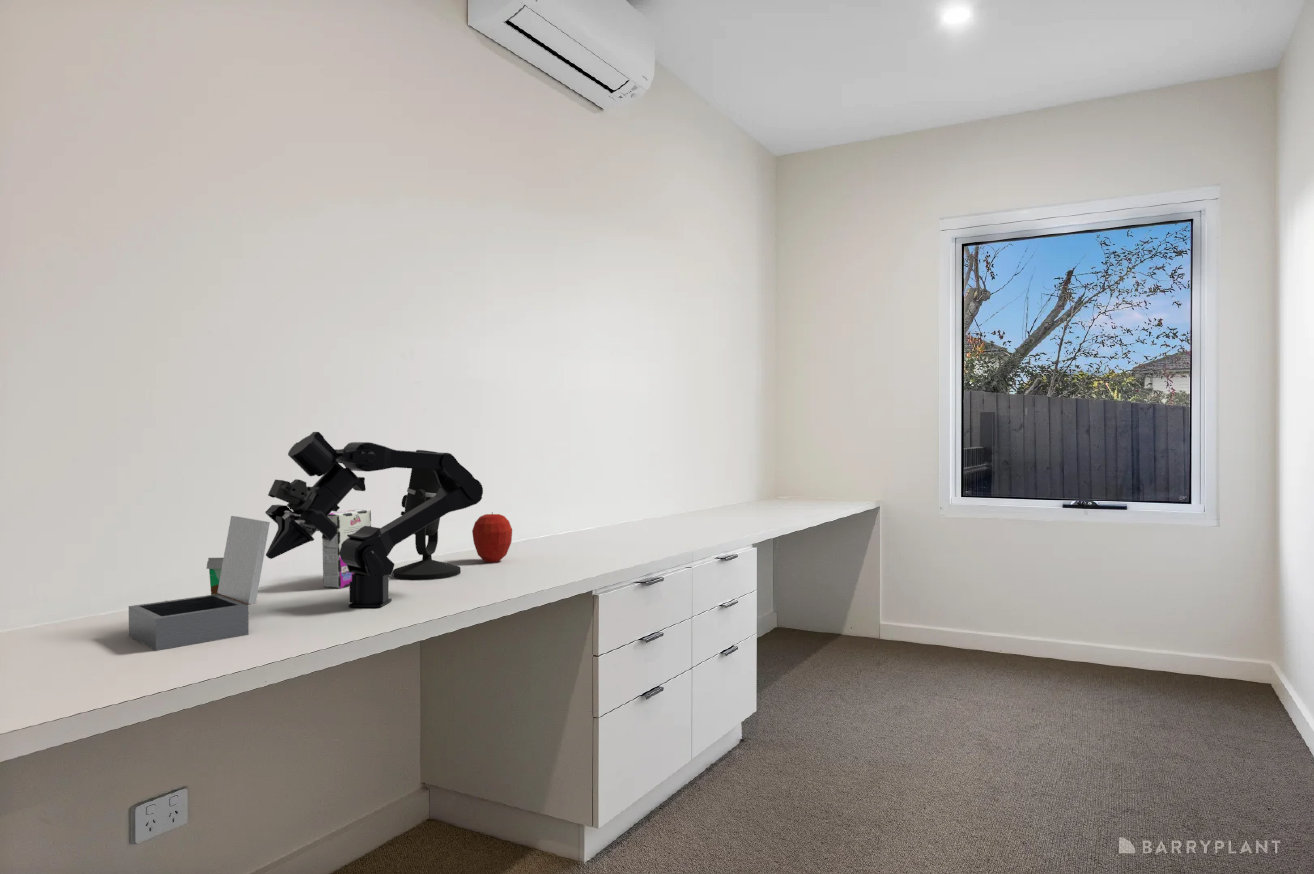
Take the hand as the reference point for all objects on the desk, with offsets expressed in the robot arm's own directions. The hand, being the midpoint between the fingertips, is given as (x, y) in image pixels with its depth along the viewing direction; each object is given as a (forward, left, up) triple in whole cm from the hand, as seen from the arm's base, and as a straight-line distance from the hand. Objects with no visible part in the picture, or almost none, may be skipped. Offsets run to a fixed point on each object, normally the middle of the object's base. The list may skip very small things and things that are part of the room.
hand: (268, 557), depth 149 cm
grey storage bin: (+8, +10, -12) cm, 18 cm away
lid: (+3, +4, 0) cm, 5 cm away
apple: (-24, -70, -12) cm, 75 cm away
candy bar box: (+1, -37, -12) cm, 39 cm away
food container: (+13, -15, -12) cm, 23 cm away
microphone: (-13, -50, -12) cm, 53 cm away
